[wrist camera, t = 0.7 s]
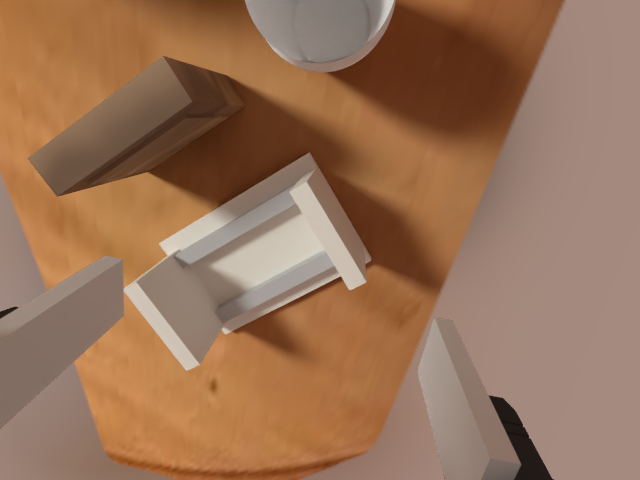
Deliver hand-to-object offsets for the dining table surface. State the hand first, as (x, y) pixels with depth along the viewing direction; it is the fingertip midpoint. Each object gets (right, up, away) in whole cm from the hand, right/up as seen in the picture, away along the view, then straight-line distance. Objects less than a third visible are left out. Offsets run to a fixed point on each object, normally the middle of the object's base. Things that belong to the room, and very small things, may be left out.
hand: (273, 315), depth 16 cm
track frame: (-4, +2, +23) cm, 23 cm away
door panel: (-11, +14, +20) cm, 27 cm away
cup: (+3, +21, +16) cm, 27 cm away
